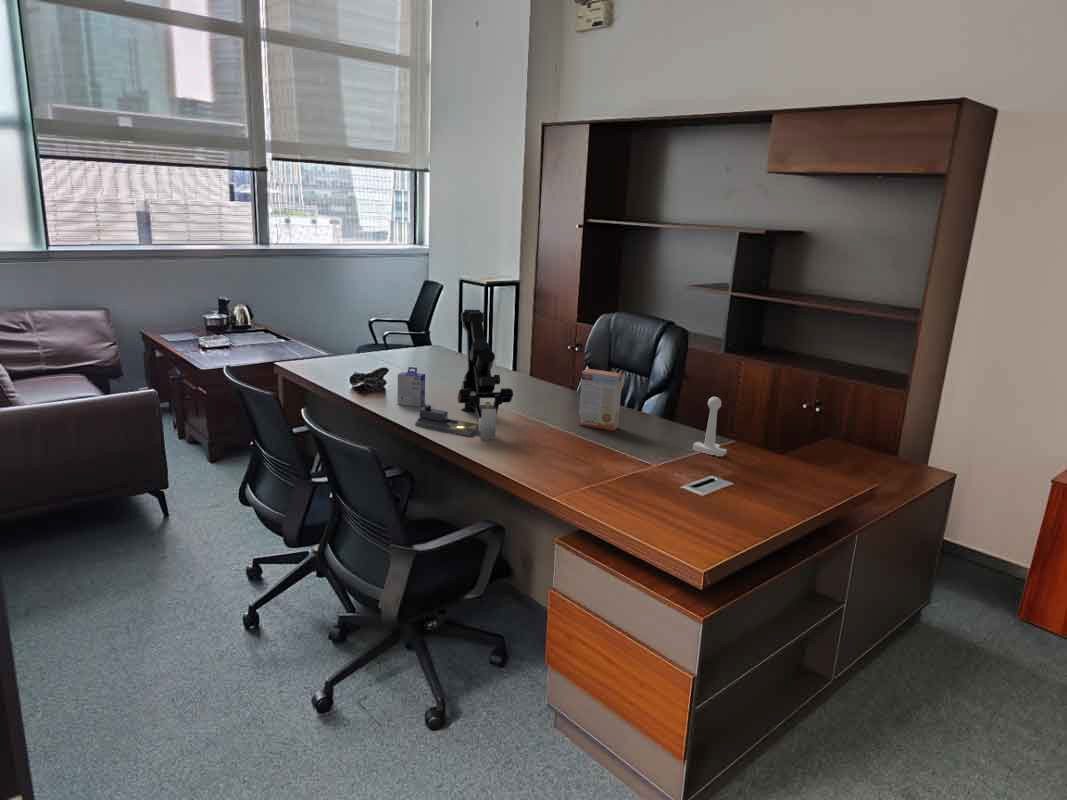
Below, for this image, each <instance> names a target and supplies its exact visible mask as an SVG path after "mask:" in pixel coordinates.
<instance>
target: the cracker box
mask: <svg viewBox="0 0 1067 800" xmlns="http://www.w3.org/2000/svg"><path fill="white" fill-rule="evenodd" d="M622 381H623V373H620V372H613V371H608V370H607V371H606V370H600V369H593V368H586V369H585V370H581V381H580V382H581V383H580V394H579V395H580V396H579V397H580V398H579V408H578V409H579V411H578V412H579V413H578V426H582V427H589V428H595V429H600V430H605V431H606V430H607V431H611V432H613V431H615V430H616V429H618V428H619V420H620V409H621V408H620V407H621V398H622V397H621V396H622V384H623V383H622Z"/></svg>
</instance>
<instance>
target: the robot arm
mask: <svg viewBox="0 0 1067 800" xmlns="http://www.w3.org/2000/svg"><path fill="white" fill-rule="evenodd" d="M460 322H462V327H463V329H464V330H465V332H466V343H467V344H466V346H467V349H466V351H467V354H466V355H467V371H466V372H465V375H464V377H463V380H462V383H461V387H460V389H459V390H458V395H457V403H458V404H464V407H462V408H461V409H460V410H461V411H463V412H468V413H474V414H476V415H477V416H478V419H479V418H481V412H480V407H479V405H481V399H494V401H493V405H494V406H495V408H496V417H497V414H498V411H499V406H500V405H502V404H503V403H510V402H512V399H513V396H514V390H513V389H512V388H510V387H508V388H506V387H505V388H503V387H502V388H500V391H499V392H497V391H495V389H496V388H495V387H496V385H500V384H501V377H500V374H494V375H493V376H492V371H491V370H492V368H493V365H494V361H495V358H496V355H495V354H494V352H493V351H492V350H491V348H490V344H489V343H488V341H486V338H485V332H484V326H483V323H485V312H482V311H481V309H464V310H463V312H460Z"/></svg>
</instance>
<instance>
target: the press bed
mask: <svg viewBox="0 0 1067 800" xmlns="http://www.w3.org/2000/svg"><path fill="white" fill-rule="evenodd" d="M414 425H415V427H419V426H420V428H424V427H425V429H429V428H430V430H434V429H435V430H436V431H440V432H446V433H449V432H450V434H454V433H456V435H459V434H460V435H459V436H464V435H465V436H464V437H469V436H470V438H471V437H473V436H474V434H475V435H477V434H478V430H479V423H474V422H470V421H464V420H458V419H454V418H447V421H446V422H444V423H442V422H437V421H432V420H427V419H422V418H420V417H419V418H417V420H416V421H415V423H414Z"/></svg>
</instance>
